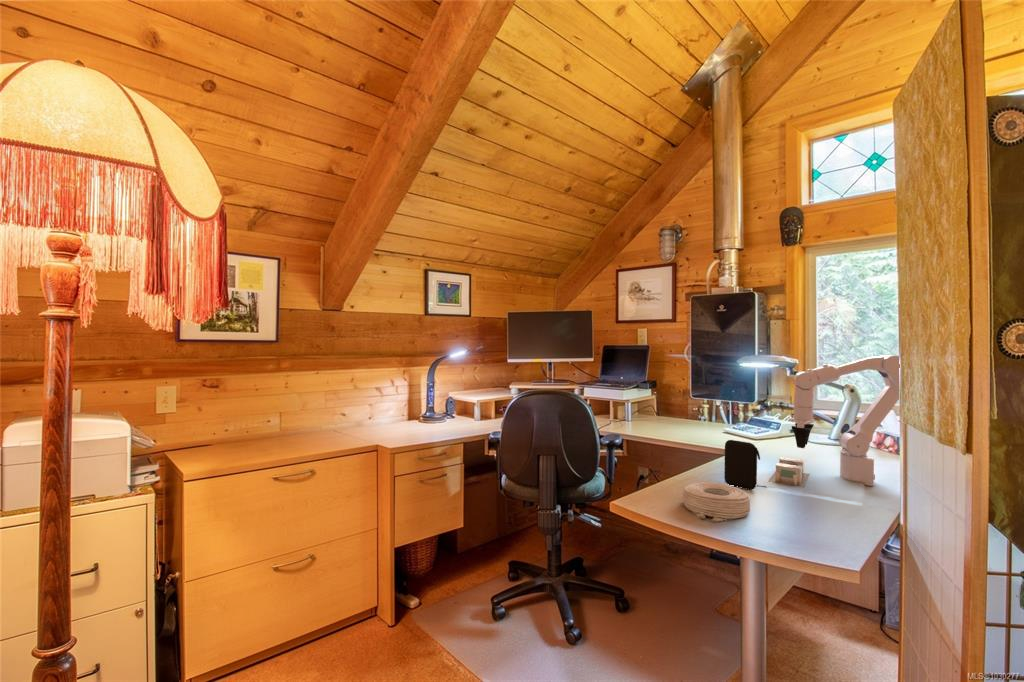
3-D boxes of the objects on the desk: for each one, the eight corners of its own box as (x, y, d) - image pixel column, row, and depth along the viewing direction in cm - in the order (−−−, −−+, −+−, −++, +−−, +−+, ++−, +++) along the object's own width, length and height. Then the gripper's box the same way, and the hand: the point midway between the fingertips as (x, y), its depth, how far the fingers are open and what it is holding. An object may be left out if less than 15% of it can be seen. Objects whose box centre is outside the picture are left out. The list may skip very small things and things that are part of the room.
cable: (708, 525, 122) (709, 501, 122) (668, 502, 139) (668, 481, 139) (765, 518, 127) (765, 496, 127) (719, 497, 144) (719, 477, 144)
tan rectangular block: (804, 474, 165) (804, 460, 165) (802, 477, 161) (803, 462, 161) (780, 471, 169) (781, 456, 169) (779, 473, 165) (779, 459, 165)
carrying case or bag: (761, 490, 150) (761, 443, 150) (757, 493, 147) (758, 445, 147) (726, 483, 157) (727, 438, 157) (722, 485, 155) (723, 439, 155)
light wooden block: (801, 481, 156) (801, 466, 156) (800, 484, 153) (800, 468, 153) (777, 477, 161) (777, 462, 161) (775, 480, 157) (775, 465, 157)
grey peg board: (810, 476, 166) (810, 465, 166) (803, 490, 150) (804, 477, 150) (777, 471, 172) (777, 460, 172) (768, 484, 156) (768, 472, 156)
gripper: (792, 403, 175) (791, 440, 175) (787, 407, 163) (786, 447, 163) (815, 405, 170) (814, 443, 171) (811, 409, 159) (810, 451, 159)
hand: (802, 445), depth 167 cm, fingers open, 7 cm apart
